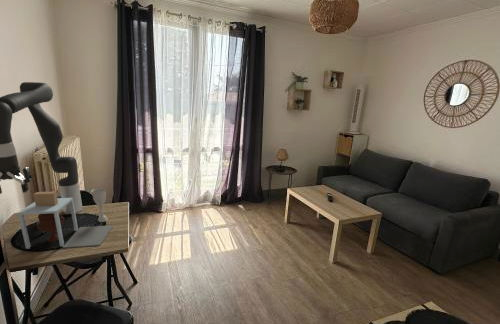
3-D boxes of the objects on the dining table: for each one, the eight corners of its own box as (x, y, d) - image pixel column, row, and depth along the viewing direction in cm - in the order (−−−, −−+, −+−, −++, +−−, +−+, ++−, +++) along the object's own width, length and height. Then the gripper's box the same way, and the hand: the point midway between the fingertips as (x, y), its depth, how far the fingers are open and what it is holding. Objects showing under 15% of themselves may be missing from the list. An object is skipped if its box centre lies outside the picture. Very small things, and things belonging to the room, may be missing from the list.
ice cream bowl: (53, 246, 117) (47, 217, 113) (33, 243, 119) (27, 214, 115) (73, 234, 127) (68, 207, 123) (54, 231, 129) (49, 204, 125)
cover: (45, 231, 129) (36, 187, 122) (78, 229, 131) (70, 186, 125) (26, 248, 114) (14, 200, 108) (63, 246, 117) (54, 198, 111)
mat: (80, 228, 133) (80, 227, 133) (113, 226, 136) (113, 225, 136) (62, 248, 116) (62, 247, 116) (100, 245, 119) (100, 244, 118)
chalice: (92, 221, 140) (87, 191, 135) (102, 216, 146) (98, 187, 141) (102, 223, 138) (98, 193, 133) (112, 218, 144) (109, 188, 139)
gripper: (30, 151, 104) (37, 188, 108) (-14, 152, 99) (-4, 190, 104) (20, 155, 97) (29, 195, 101) (-28, 157, 92) (-16, 198, 97)
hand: (12, 192), depth 102 cm, fingers open, 8 cm apart
